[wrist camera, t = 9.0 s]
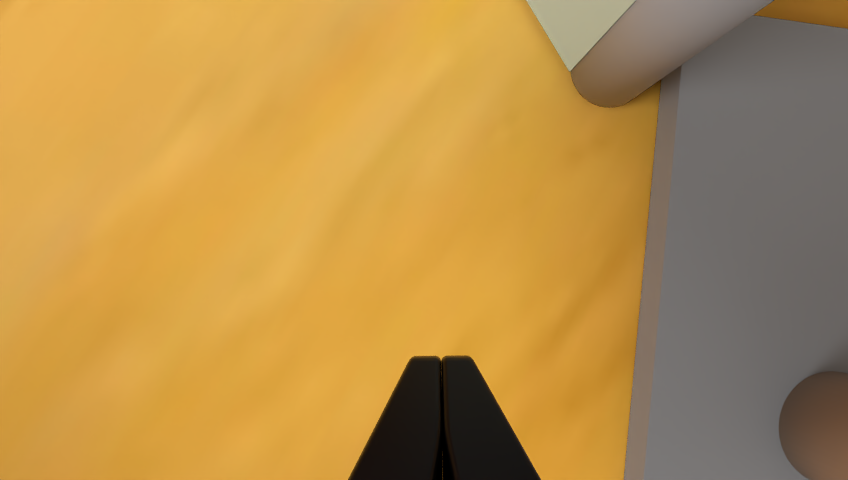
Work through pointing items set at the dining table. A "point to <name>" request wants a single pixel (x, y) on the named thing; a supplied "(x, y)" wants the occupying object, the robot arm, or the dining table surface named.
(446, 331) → the dining table surface
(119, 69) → the dining table surface
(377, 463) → the robot arm
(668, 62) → the pale green flat block
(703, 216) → the grey peg stand
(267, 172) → the dining table surface
